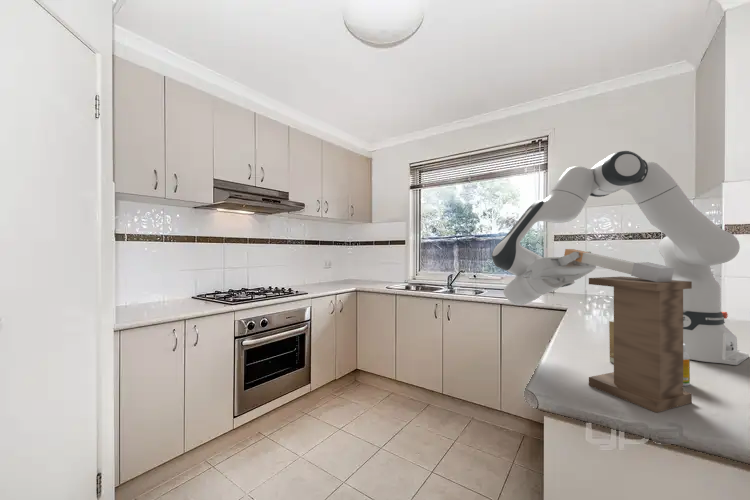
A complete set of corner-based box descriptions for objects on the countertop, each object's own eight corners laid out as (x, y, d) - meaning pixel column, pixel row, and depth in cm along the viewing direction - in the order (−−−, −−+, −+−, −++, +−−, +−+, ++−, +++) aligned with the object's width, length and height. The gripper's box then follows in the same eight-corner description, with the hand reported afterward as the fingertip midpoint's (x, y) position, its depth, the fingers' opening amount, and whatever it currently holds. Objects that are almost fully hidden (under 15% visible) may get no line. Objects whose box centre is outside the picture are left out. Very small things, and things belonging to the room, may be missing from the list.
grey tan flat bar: (574, 257, 90) (576, 247, 90) (671, 281, 69) (674, 267, 69) (561, 257, 89) (563, 247, 88) (656, 282, 68) (660, 268, 67)
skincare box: (623, 359, 96) (623, 318, 96) (639, 364, 92) (639, 321, 92) (608, 362, 94) (608, 320, 94) (623, 367, 90) (623, 323, 90)
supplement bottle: (695, 387, 77) (695, 346, 77) (669, 385, 78) (669, 345, 78) (679, 378, 82) (679, 340, 82) (655, 376, 83) (655, 339, 83)
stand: (621, 378, 82) (621, 276, 82) (691, 402, 69) (691, 281, 69) (588, 385, 78) (588, 277, 78) (656, 412, 65) (656, 283, 65)
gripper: (514, 267, 94) (550, 243, 83) (565, 266, 101) (604, 243, 90) (523, 287, 91) (560, 265, 80) (575, 284, 98) (616, 263, 87)
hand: (584, 253), depth 85 cm, fingers closed on grey tan flat bar, 3 cm apart
